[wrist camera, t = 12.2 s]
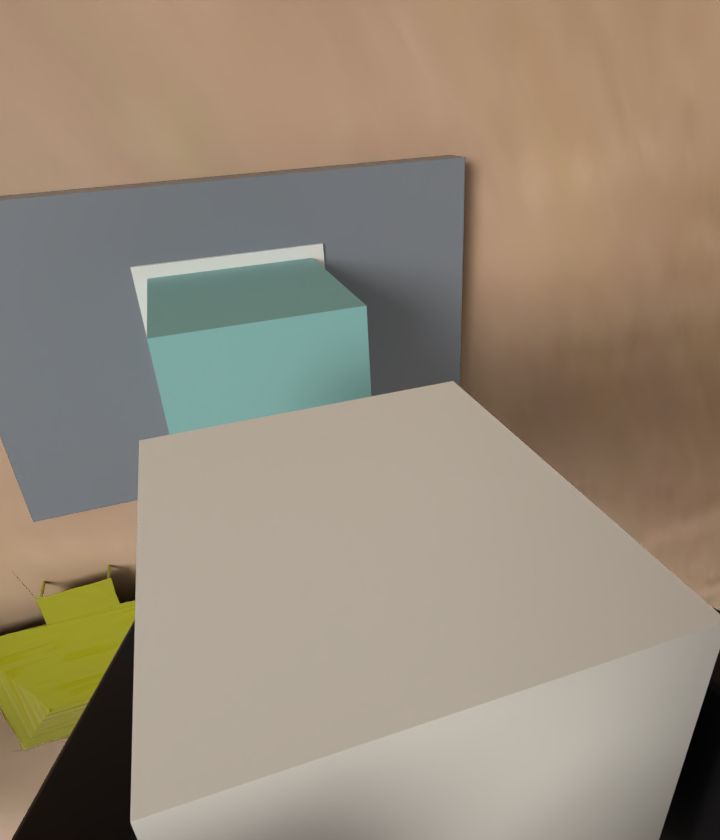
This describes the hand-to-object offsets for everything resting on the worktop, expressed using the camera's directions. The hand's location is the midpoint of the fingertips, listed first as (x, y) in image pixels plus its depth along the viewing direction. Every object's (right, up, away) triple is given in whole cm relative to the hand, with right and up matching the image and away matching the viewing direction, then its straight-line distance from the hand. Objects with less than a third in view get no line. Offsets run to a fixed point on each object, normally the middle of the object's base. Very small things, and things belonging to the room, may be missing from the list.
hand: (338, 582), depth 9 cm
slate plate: (-3, +5, +10) cm, 12 cm away
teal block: (-3, +5, +9) cm, 11 cm away
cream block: (0, +1, +1) cm, 1 cm away
